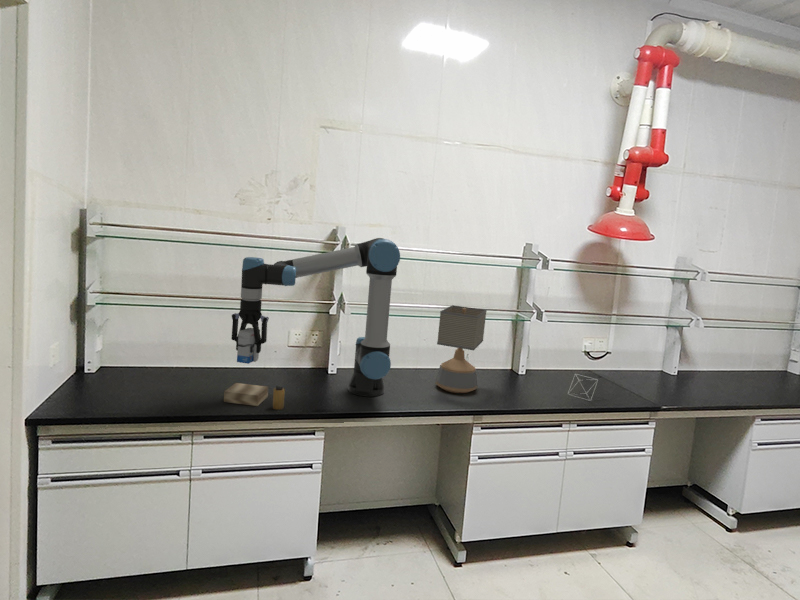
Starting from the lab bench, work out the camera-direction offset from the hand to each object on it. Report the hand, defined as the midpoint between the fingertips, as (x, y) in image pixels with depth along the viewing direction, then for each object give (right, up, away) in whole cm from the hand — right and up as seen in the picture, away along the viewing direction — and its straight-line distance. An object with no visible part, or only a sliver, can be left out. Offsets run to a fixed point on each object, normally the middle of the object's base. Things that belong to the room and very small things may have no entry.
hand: (247, 359), depth 202 cm
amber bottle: (+12, -17, -3) cm, 21 cm away
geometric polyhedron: (+141, -22, +45) cm, 150 cm away
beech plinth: (-1, -15, +2) cm, 15 cm away
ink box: (0, 0, 0) cm, 0 cm away
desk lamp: (+82, -18, +39) cm, 93 cm away
